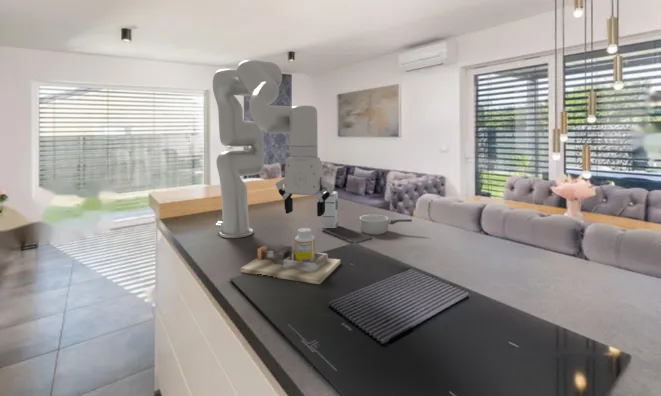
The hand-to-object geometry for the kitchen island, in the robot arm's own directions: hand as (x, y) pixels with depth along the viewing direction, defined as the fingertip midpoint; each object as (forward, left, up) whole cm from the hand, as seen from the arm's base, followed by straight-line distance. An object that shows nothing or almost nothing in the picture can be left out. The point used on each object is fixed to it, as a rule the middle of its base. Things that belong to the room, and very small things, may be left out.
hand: (304, 213), depth 103 cm
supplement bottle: (0, 0, -15) cm, 15 cm away
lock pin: (-11, 0, -15) cm, 18 cm away
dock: (-4, -1, -16) cm, 16 cm away
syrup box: (-10, +45, -16) cm, 49 cm away
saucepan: (+13, +45, -16) cm, 50 cm away
